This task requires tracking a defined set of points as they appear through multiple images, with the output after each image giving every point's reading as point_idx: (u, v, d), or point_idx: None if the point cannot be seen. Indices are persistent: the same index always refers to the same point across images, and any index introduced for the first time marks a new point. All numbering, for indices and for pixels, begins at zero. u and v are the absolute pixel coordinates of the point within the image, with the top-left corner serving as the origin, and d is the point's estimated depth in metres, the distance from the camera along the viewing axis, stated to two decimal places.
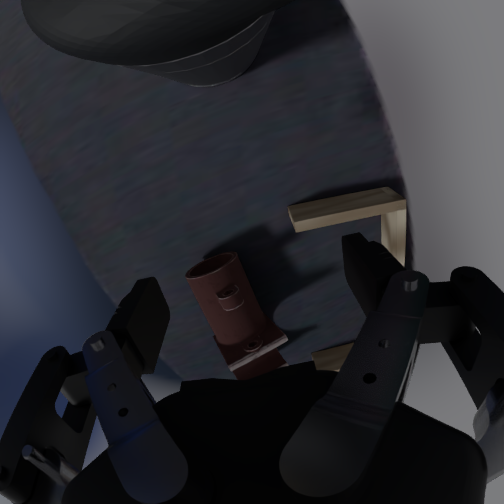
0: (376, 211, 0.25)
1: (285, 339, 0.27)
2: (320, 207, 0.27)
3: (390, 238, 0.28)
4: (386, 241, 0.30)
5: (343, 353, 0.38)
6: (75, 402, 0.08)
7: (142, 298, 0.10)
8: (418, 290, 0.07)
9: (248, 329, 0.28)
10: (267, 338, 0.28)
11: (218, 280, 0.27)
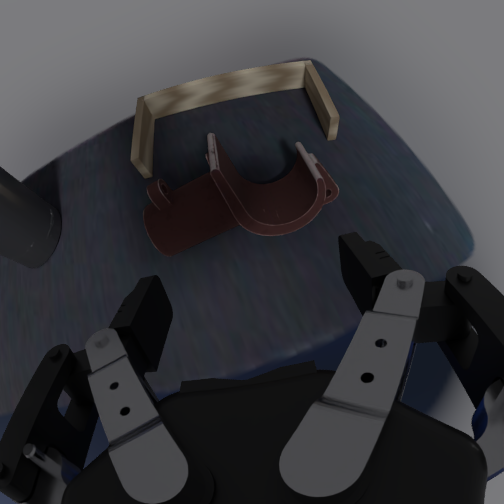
0: (140, 112, 0.32)
1: (208, 135, 0.24)
2: None
3: (175, 99, 0.34)
4: (184, 103, 0.35)
5: (318, 107, 0.32)
6: (78, 400, 0.08)
7: (145, 296, 0.10)
8: (413, 290, 0.07)
9: (206, 176, 0.25)
10: None
11: (150, 209, 0.26)
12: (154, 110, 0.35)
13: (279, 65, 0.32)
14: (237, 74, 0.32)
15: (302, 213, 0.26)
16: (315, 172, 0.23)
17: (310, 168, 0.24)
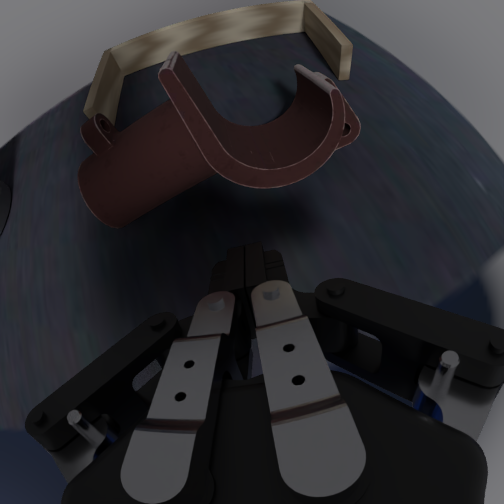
0: (103, 63, 0.23)
1: (170, 53, 0.15)
2: None
3: (147, 49, 0.24)
4: (158, 53, 0.26)
5: (323, 44, 0.22)
6: None
7: (244, 263, 0.11)
8: (272, 300, 0.08)
9: (163, 103, 0.15)
10: None
11: (88, 159, 0.16)
12: (123, 64, 0.25)
13: (273, 4, 0.22)
14: (221, 14, 0.23)
15: (310, 151, 0.16)
16: (326, 84, 0.13)
17: (318, 83, 0.14)
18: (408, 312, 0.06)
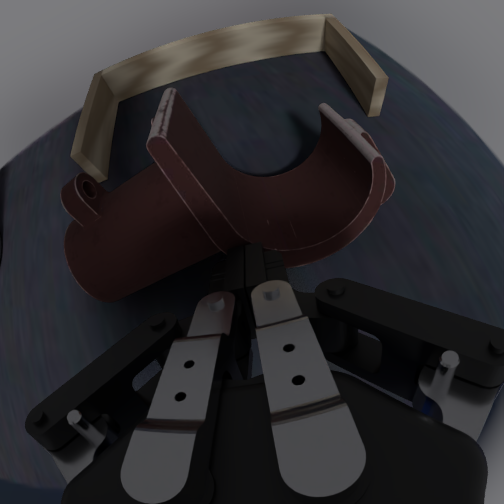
0: (93, 90, 0.20)
1: (165, 91, 0.12)
2: None
3: (143, 71, 0.22)
4: (157, 76, 0.23)
5: (349, 71, 0.20)
6: None
7: (244, 263, 0.11)
8: (272, 300, 0.08)
9: None
10: None
11: (74, 226, 0.14)
12: (117, 89, 0.23)
13: (289, 18, 0.20)
14: (229, 30, 0.20)
15: (339, 226, 0.13)
16: (366, 147, 0.11)
17: (354, 140, 0.12)
18: (408, 312, 0.06)
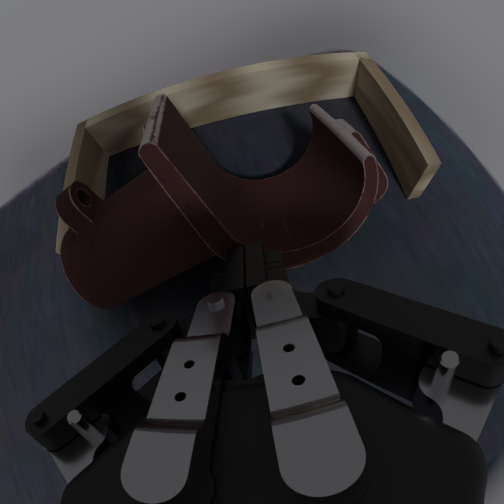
0: (76, 151, 0.18)
1: (155, 97, 0.13)
2: None
3: (135, 123, 0.20)
4: None
5: (388, 135, 0.17)
6: None
7: (244, 263, 0.11)
8: (273, 300, 0.08)
9: None
10: None
11: (70, 234, 0.14)
12: (105, 142, 0.21)
13: (316, 57, 0.17)
14: (242, 73, 0.18)
15: (333, 227, 0.13)
16: (357, 147, 0.11)
17: (345, 140, 0.12)
18: (408, 312, 0.06)
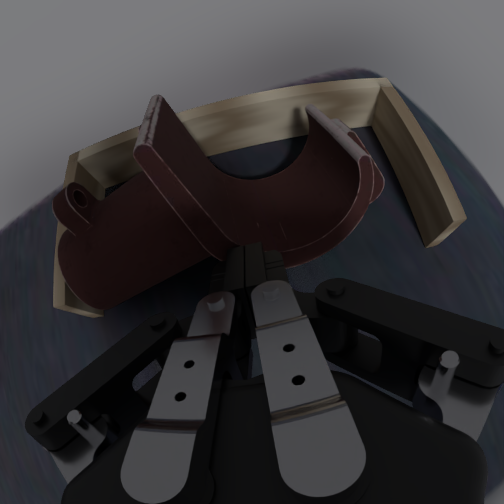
0: None
1: (151, 98, 0.13)
2: None
3: (132, 156, 0.18)
4: None
5: (409, 177, 0.16)
6: None
7: (244, 263, 0.11)
8: (272, 300, 0.08)
9: None
10: None
11: (67, 235, 0.14)
12: (101, 175, 0.19)
13: (333, 84, 0.16)
14: (250, 102, 0.16)
15: (329, 226, 0.14)
16: (352, 146, 0.11)
17: (341, 140, 0.12)
18: (408, 312, 0.06)
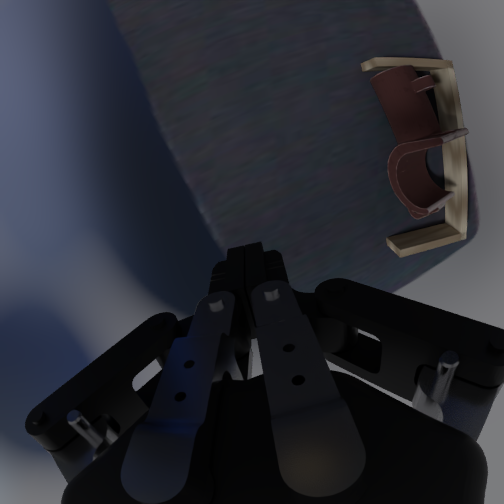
0: (433, 64, 0.23)
1: (467, 130, 0.23)
2: None
3: (446, 98, 0.26)
4: (442, 106, 0.27)
5: (418, 235, 0.34)
6: None
7: (244, 263, 0.11)
8: (273, 300, 0.08)
9: (436, 123, 0.24)
10: None
11: (410, 72, 0.23)
12: (437, 74, 0.25)
13: (465, 209, 0.30)
14: (462, 168, 0.28)
15: (403, 191, 0.30)
16: (432, 208, 0.27)
17: (435, 204, 0.27)
18: (408, 312, 0.06)
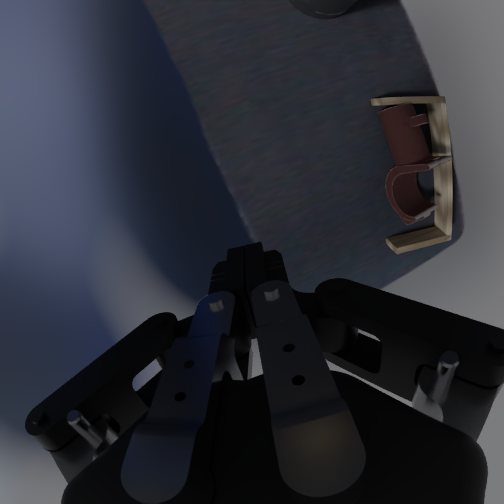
0: (428, 100, 0.31)
1: (450, 157, 0.31)
2: None
3: (438, 127, 0.34)
4: (434, 132, 0.36)
5: (411, 236, 0.43)
6: None
7: (244, 263, 0.11)
8: (272, 300, 0.08)
9: (426, 151, 0.33)
10: None
11: (409, 109, 0.31)
12: (432, 106, 0.34)
13: (450, 216, 0.39)
14: (448, 183, 0.37)
15: (396, 202, 0.38)
16: (418, 216, 0.36)
17: (421, 213, 0.36)
18: (408, 312, 0.06)
